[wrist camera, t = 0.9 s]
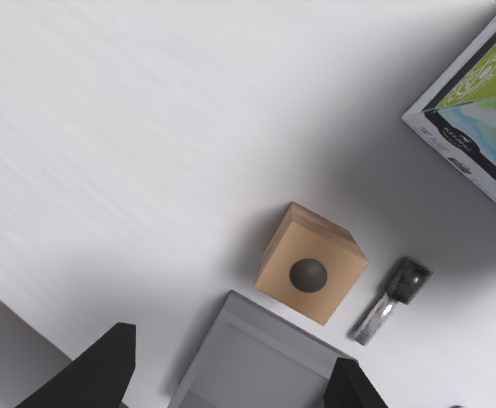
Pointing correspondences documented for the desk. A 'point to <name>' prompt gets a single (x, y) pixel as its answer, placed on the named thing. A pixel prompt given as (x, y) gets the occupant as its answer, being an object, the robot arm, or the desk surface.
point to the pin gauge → (394, 298)
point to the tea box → (464, 112)
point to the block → (309, 264)
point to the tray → (256, 362)
